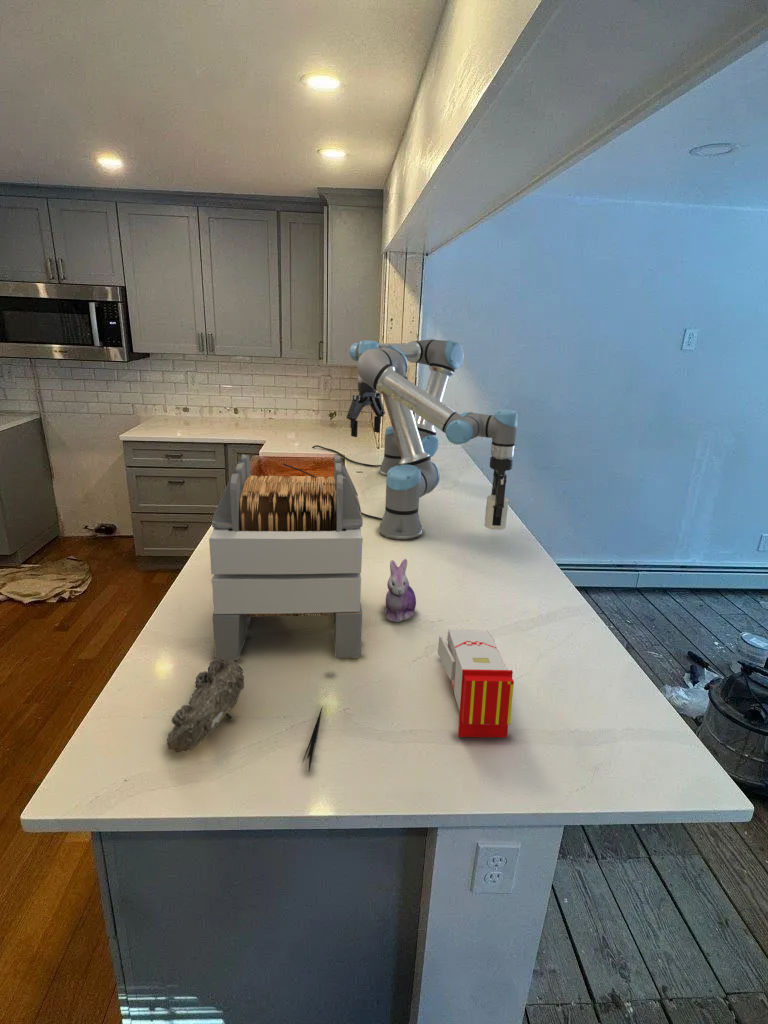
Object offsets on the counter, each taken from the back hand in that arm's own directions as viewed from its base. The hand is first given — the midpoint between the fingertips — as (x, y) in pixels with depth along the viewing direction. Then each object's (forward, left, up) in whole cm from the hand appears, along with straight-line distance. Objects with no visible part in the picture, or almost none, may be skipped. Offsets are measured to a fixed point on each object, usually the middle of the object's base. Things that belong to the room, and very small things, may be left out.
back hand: (365, 434), depth 232 cm
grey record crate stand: (+58, -88, -26) cm, 109 cm away
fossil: (+74, -121, -26) cm, 145 cm away
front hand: (+65, -2, -19) cm, 67 cm away
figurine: (+75, -66, -26) cm, 103 cm away
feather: (+90, -108, -26) cm, 142 cm away
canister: (+65, -2, -21) cm, 68 cm away
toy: (+106, -80, -26) cm, 135 cm away
